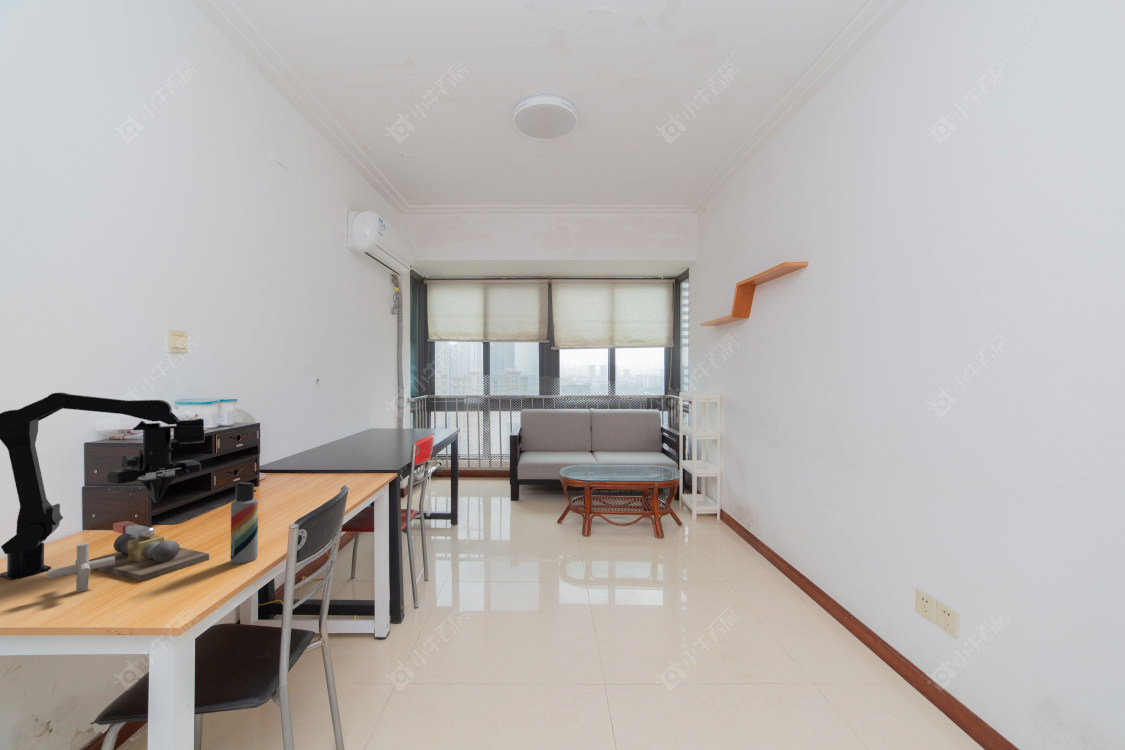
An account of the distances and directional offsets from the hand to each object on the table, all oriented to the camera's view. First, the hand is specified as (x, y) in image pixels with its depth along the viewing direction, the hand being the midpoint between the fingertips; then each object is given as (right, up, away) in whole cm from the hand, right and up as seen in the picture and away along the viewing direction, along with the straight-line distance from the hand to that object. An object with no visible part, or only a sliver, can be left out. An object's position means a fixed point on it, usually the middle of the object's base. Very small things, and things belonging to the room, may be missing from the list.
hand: (156, 502), depth 122 cm
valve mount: (+5, -13, -9) cm, 16 cm away
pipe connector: (+5, -13, -24) cm, 27 cm away
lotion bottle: (+29, -13, -7) cm, 33 cm away
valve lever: (0, -6, -6) cm, 9 cm away
